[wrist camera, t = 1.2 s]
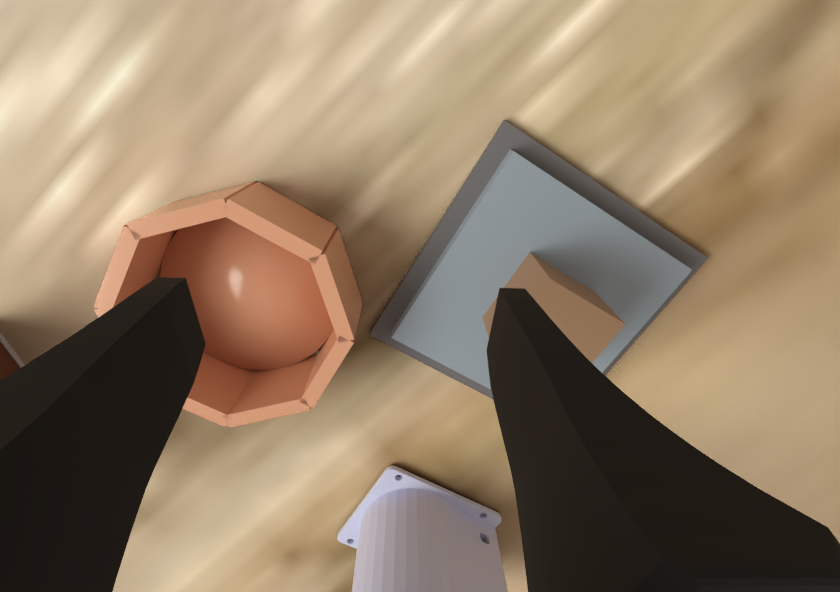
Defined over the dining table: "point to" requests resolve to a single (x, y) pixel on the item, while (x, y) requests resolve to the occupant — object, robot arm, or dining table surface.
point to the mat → (467, 197)
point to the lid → (537, 273)
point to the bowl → (248, 296)
